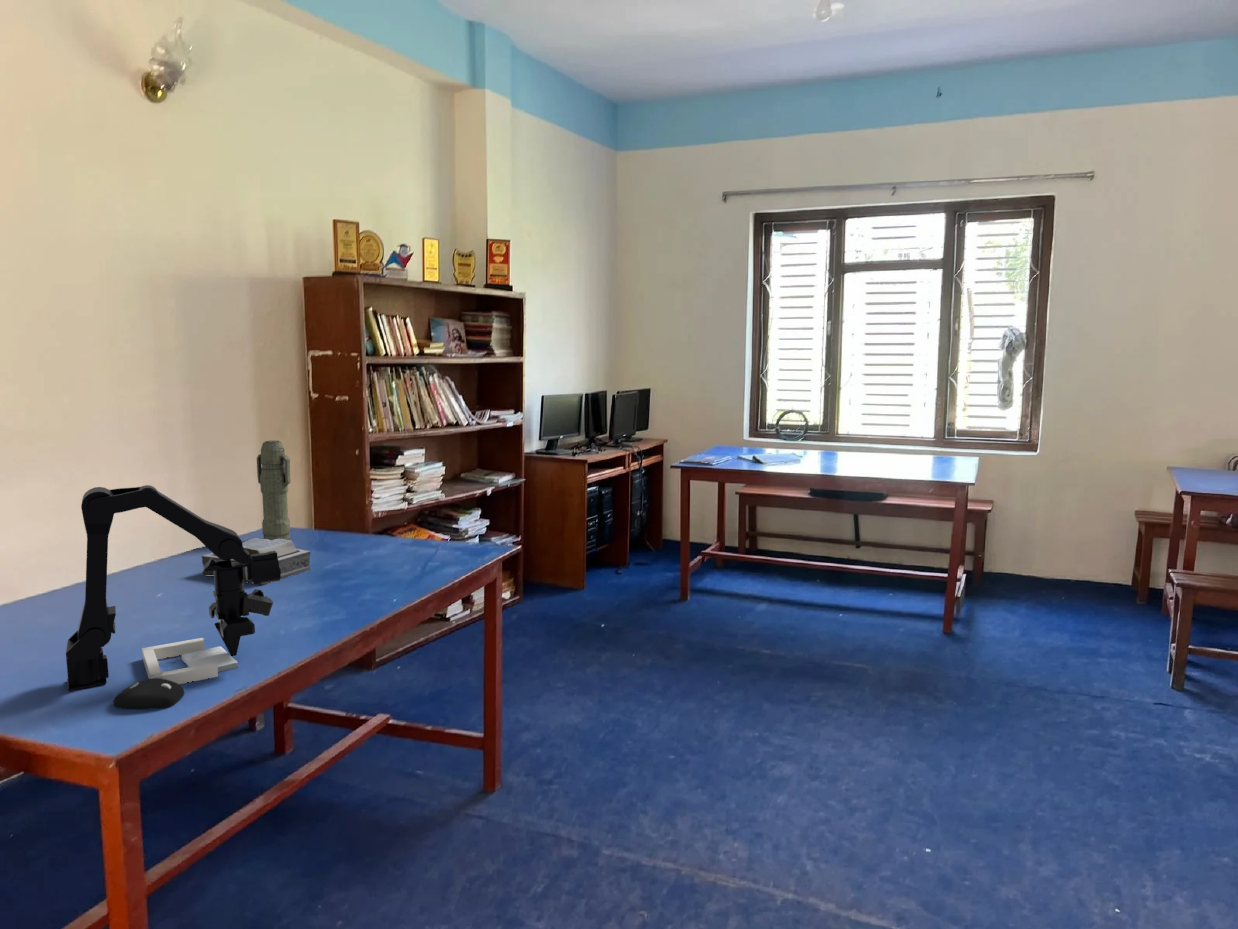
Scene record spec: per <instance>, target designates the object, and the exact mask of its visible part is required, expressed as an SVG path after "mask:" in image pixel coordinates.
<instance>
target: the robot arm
mask: <svg viewBox="0 0 1238 929" xmlns="http://www.w3.org/2000/svg"><path fill="white" fill-rule="evenodd" d="M80 508H81V513H82V520H83V524H84V528H85V533H86V560H85V561H86V562H85V563H86V564H85V565H86V566H85V567H86V568H85V592H84V593H85V596H84V597H85V598H84V599H85V600H84V604H83V606H82V610H81V614H80V618H79V623H78V626H77V630H76V631H75V632H74V633H73V634H72V635H71V636H70V637H69V638H68V639H67V642H66V647H65V648H66V650H65V660H66V673H67V678H66V679H67V691H69V692H70V691H71V692H72V691H75V690H82V689H86V688H90V687H91V688H92V687H97V686H102V685H106V684H107V681H108V680H107V679H108V678H109V676H110V675H109V674H110V673H109V664H108V656H107V655H106V654H104V650H103V647H105V646H106V645H107V644H109V643H110V641H111V638H112V634H116V622H115V619H116V615H117V610H116V605H112V606H108V602H107V601H108V600H107V585H108V584H107V583H108V582H107V580H108V579H107V578H108V555H109V554H108V550H109V535H110V532H111V528H112V524H113V520H114V515H115V514H118V513H125V512H129V511H133V510H137V509H140V508H147V509H149V510H150V511H152V512H153V513H155V514H156V515H159V516H160V517H162V518H164V519H165V520H167V521H169V522H171V523H172V524H173V525H176V527H178V528H180V529H182V530H184V531H185V532H187V533H188V534H190V535H192V536H194V537H195V538H196V539H197V540H199V541H200V543H202V544H203V545H204V546H205V547H206V548H207V549H208V550H209V551H210V553H214V554H215V555H216V556H217V557H218V558H220V559H222V560H219V561H216V560H214V559H213V558H210V560H209V561H208V562H207V563H206V564H205V565H204V566H203V565H202V567H203V570H204V569H205V571H206V572H207V571H214V577H213V579H214V581H213V582H214V590H213V591H212V592H213V597H214V599H215V602H212V603H211V604H210V605H209V607H208V611H209V612H208V613H209V616H210V618H211V619H214V618H215V616H216V619H217V620H218V622H215V623H214V627H215V629H216V630H217V633H218V634H219V637H220V638H221V640H222V641H223V644H224V646H225V647H226V649H227V652H228V654H229V655H230V656H231V657H235V656H237V654H238V650H239V645H240V641H241V638H242V637H245V636H249V635H254V634H255V633H256V627H255V623H254V621H253V620H252V619H250V618H249V616H250V613H252V614H258V615H263V616H264V617H268V616H269V617H270V614H271V610H272V607H273V604H274V601H273V600H272V599H271V598H270V597H268V596H267V595H264V591H263V590H261V589H256V588H255V589H254V590H253V591H252V592H250V593H248V592H247V591H245V586H244V583H245V582H243V567H245V574H246V580H247V581H249V580H251V582H252V584H251V585H256V584H261V583H268V582H273V583H275V582H276V583H277V582H280V581H281V580H282V579H281V569H280V567H279V562H278V557H277V552H276V551H270V552H267V553H260V554H251V555H250V553H249V552H248V550H247V549H246V550H245V549H244V548H243V544H242V543H243V541H242V540H241V538H240V536H239V535H238V533H237V532H236V531H235V530H232V529H230V528H228V527H225V526H223V525H220V524H217V523H215V522H212V521H208V520H206V519H204V518H202V517H201V516H199V515H197V513H194V512H193V511H191V510H189V509H188V508H186V507H184V506H183V505H181V504H180V503H178V502H177V501H175V500H173V499H171V498H170V497H168V496H167V495H165V494H164V493H162V492H160V491H159V490H157V488H155V487H154V486H153V485H151V484H149V485H148V484H146V485H142V486H136V487H134V486H133V487H118V488H113V489H110V488H109V489H108V488H106V487H101V486H97V487H93V488H90V489H88V490H87V491H86V492H85V493H84V494H83V496H82V499H81V507H80ZM230 559H233V560H235V561H238V562H231V560H230ZM280 579H281V580H280Z"/></svg>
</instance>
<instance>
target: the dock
mask: <svg viewBox="0 0 1238 929" xmlns="http://www.w3.org/2000/svg"><path fill="white" fill-rule="evenodd" d="M205 649H206V645H205V638H204V637H199V638H193V639H187V640H182V641H176V642H170V643H165V644H158V645H153V646H148V647H142V648H141V655H142V656H141V657H142V661H143V665H144V669H145V671H146V672H145V673H146V674H147V679H153V678H159V679H166V680H170V681H173V682H175V683H178V684H179V685H185V684H188V683H187V682H189V683H192V681H194V682H198V681H203V680H208V678H209V679H212V678H218V677H219V672H218V666H217V663H216V662H213V663H208V664H203V665H198V666H193V667H188V666H187V667H183V668H179V669H174V670H173V669H172V670H168V671H163V672H162V670H161V667H160V665H159V661H158V660H163V659H168V658H167V657H169V658H174V657H179V655H180V656H182V655H183V654H186V653H191V652H196V651H200V650H205Z"/></svg>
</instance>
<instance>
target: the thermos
mask: <svg viewBox="0 0 1238 929" xmlns="http://www.w3.org/2000/svg"><path fill="white" fill-rule="evenodd" d="M285 450H286V449H285V447H284V444H283V443H282V441H280V440H265V441H264V442H262V445H261V448H260V453H259V454H258V455H257V457H256V472H257V473H256V474H257V482H258V484H260V492H261V494H262V514H263V519H262V521H261V527H262V536H263V539H268V540H274V539H285V540H288V539H290V540H291V535H290V534H291V524H290V523H291V521H290V519H289V513H288V511H289V509H288V491H289V485H290V484H291V463H290V462H291V460H290V458H289V456H288V455H286V454H285V453H286V452H285Z"/></svg>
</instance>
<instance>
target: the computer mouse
mask: <svg viewBox="0 0 1238 929" xmlns="http://www.w3.org/2000/svg"><path fill="white" fill-rule="evenodd" d="M184 695H185V689H184V688H183V686H182V684H178V683H175V682H173V681H170V680H166V679H159V678H153V679H149V678H147V679H146V678H145V679H142V680H139V681H137V682H135V683H133V684H131V685H129V686H128V687H126V688H124V689H123V690H121V691H120V692H119V693H117V695H116V696H115V697H114V699H113V701H112V702H113V703H112V704H113V706H114V707H115V708H118V709H119V708H120V709H127V710H128V709H129V710H130V709H131V710H145V709H146V710H148V709H149V710H151V709H150V708H156V709H167V708H166V707H168V708H170V706H171V707H173V706H175V703H176V704H177V703H178V702H179V701H180V700H181V699H182V698H183V697H184ZM172 705H173V706H172Z"/></svg>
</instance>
